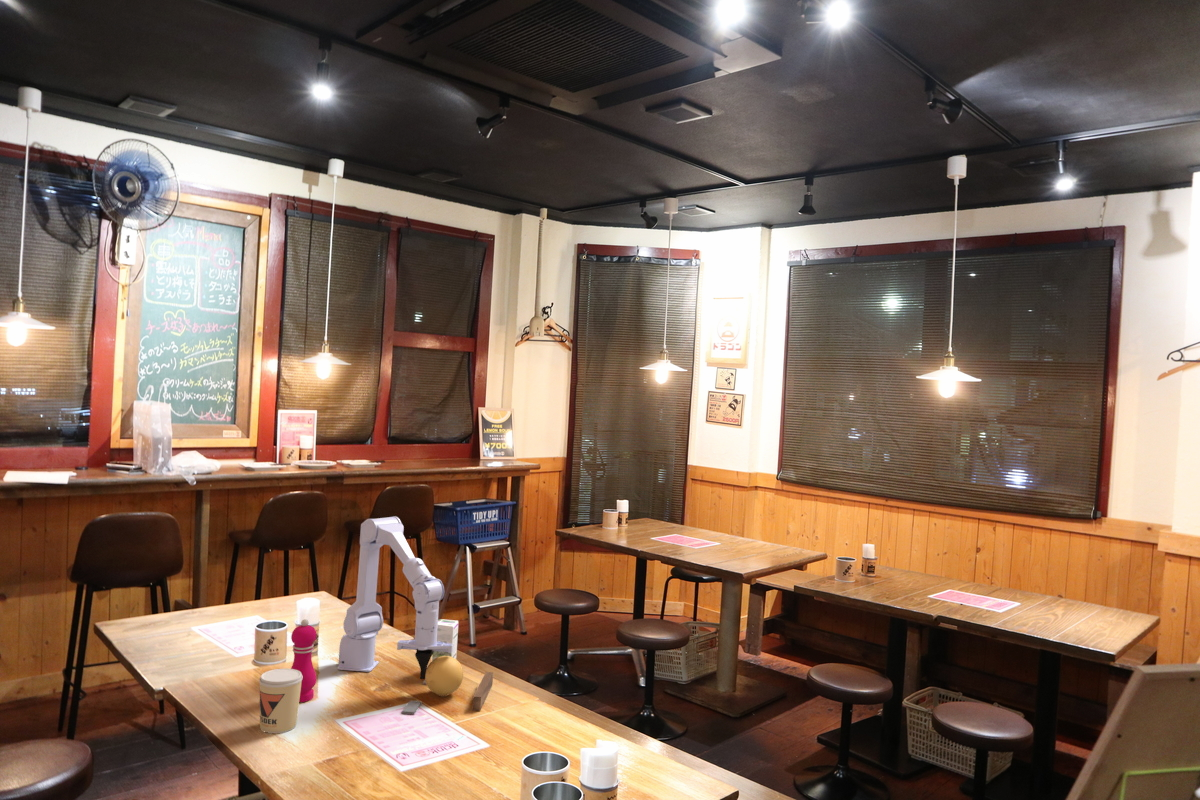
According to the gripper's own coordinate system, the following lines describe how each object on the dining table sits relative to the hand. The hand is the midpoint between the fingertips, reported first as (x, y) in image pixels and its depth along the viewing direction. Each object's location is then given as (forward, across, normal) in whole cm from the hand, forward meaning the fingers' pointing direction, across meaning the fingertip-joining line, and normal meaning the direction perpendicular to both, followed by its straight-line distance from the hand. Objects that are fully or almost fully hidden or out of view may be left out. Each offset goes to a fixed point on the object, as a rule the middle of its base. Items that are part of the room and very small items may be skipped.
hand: (423, 677), depth 206 cm
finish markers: (+4, 0, -2) cm, 4 cm away
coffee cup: (+4, -27, -26) cm, 38 cm away
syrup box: (+4, +2, +16) cm, 17 cm away
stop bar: (+4, +16, 0) cm, 16 cm away
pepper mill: (+4, -29, -9) cm, 31 cm away
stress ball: (+4, +5, 0) cm, 7 cm away
